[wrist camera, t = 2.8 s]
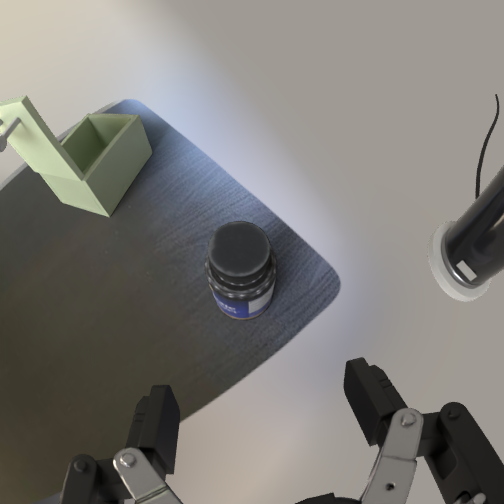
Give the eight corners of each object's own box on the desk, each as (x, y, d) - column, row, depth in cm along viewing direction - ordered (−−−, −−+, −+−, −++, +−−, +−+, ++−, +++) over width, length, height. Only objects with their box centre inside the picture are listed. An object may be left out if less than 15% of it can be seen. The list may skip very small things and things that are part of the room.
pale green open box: (103, 146, 43) (87, 113, 36) (153, 153, 41) (139, 114, 34) (62, 202, 38) (38, 171, 31) (110, 217, 36) (85, 181, 29)
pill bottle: (204, 291, 31) (181, 243, 21) (246, 258, 33) (242, 199, 23) (241, 333, 29) (233, 303, 19) (284, 296, 31) (297, 249, 21)
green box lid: (-13, 105, 18) (-37, 138, 16) (26, 95, 16) (-7, 136, 14) (38, 167, 30) (20, 196, 29) (85, 176, 29) (64, 211, 27)
